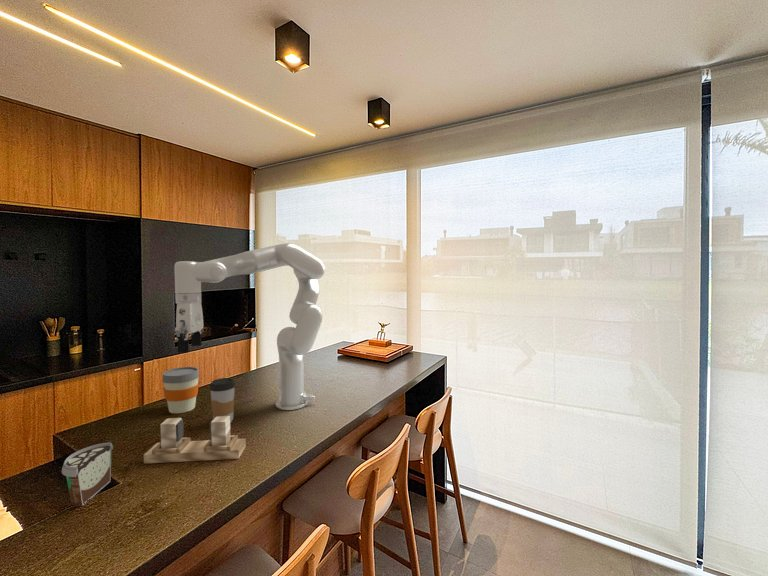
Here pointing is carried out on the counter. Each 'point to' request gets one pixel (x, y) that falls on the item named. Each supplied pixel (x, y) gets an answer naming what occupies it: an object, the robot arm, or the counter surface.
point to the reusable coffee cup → (181, 388)
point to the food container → (88, 472)
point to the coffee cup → (222, 397)
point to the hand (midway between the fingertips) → (190, 348)
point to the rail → (201, 446)
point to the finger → (171, 433)
